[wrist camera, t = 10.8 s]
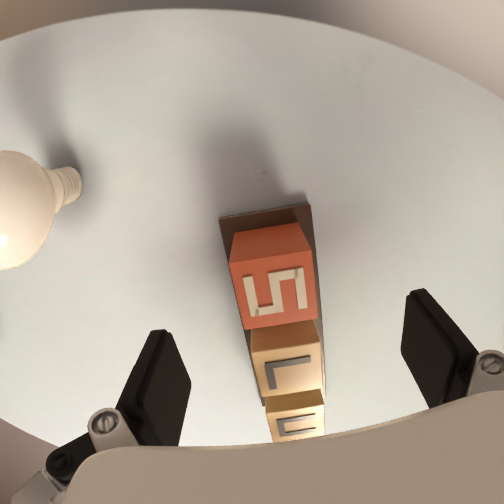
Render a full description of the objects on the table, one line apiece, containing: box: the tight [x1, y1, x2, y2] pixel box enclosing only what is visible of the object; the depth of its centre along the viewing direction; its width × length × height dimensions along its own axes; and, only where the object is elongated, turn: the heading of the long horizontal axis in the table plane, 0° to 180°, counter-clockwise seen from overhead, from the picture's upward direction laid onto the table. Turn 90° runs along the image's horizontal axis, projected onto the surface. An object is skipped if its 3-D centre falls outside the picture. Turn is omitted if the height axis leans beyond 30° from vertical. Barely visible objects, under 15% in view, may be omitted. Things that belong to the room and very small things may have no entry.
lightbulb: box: [0, 150, 82, 270], centre depth 14 cm, size 6×6×11 cm
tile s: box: [229, 222, 318, 330], centre depth 18 cm, size 4×4×5 cm
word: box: [219, 203, 326, 442], centre depth 21 cm, size 18×6×6 cm, turn 10°
